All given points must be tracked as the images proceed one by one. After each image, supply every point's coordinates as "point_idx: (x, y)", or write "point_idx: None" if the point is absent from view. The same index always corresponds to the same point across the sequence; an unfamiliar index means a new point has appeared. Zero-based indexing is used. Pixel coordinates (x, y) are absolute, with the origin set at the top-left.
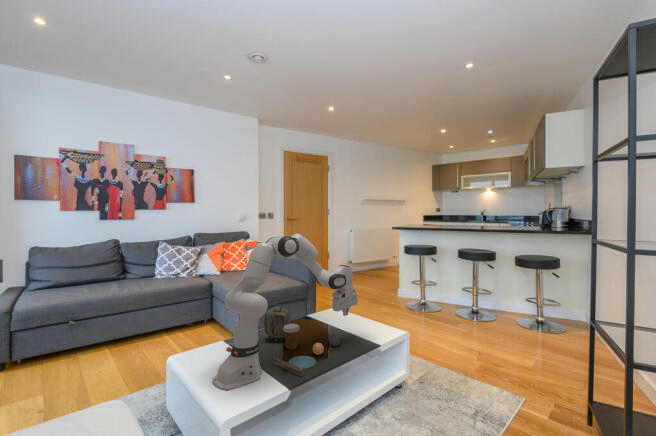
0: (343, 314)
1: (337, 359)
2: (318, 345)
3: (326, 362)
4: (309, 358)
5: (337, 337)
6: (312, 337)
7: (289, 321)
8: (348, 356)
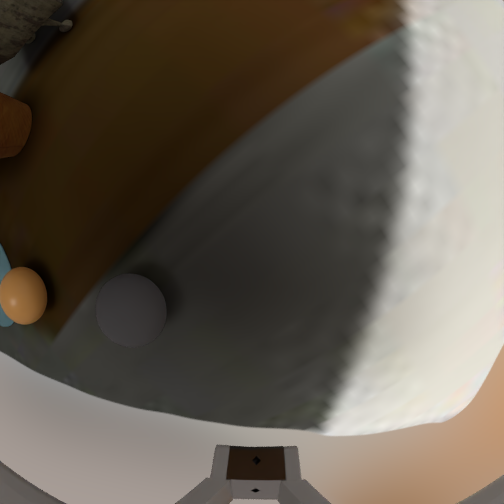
0: (214, 459)
1: (76, 375)
2: (6, 314)
3: (39, 352)
4: None
5: (123, 344)
6: (149, 82)
7: (5, 7)
8: (123, 399)
